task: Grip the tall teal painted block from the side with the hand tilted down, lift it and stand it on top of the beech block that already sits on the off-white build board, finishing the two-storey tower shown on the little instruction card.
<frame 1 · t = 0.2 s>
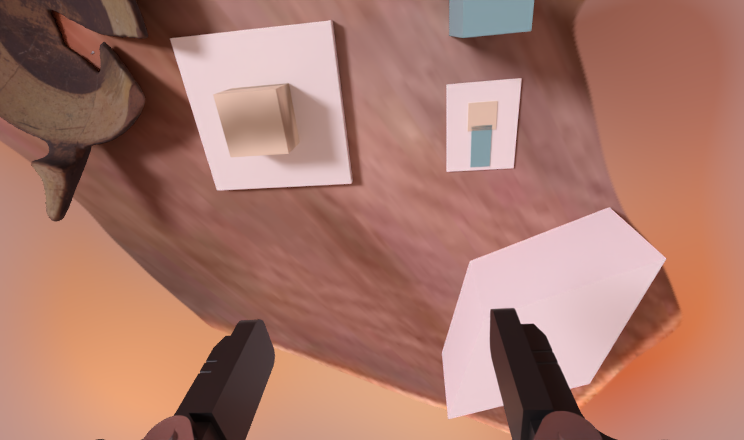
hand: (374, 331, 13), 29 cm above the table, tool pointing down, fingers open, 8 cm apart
lower block: (266, 116, 38), point 1 cm above the table, touching build board
oil lamp: (63, 50, 38), on the table
build board: (270, 114, 39), on the table
instruction card: (481, 127, 37), on the table
tall block: (475, 4, 32), on the table
wide white block: (513, 288, 46), on the table
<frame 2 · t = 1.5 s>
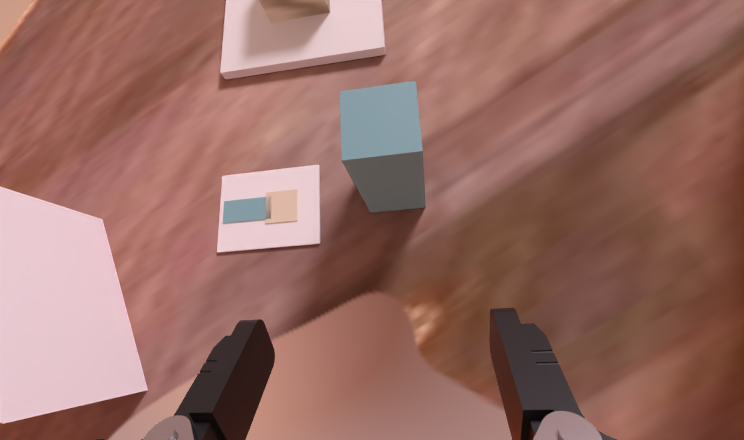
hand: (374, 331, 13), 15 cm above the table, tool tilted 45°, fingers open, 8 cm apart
build board: (303, 2, 37), on the table
instruction card: (269, 208, 31), on the table
tall block: (395, 184, 30), on the table
wide white block: (51, 284, 33), on the table
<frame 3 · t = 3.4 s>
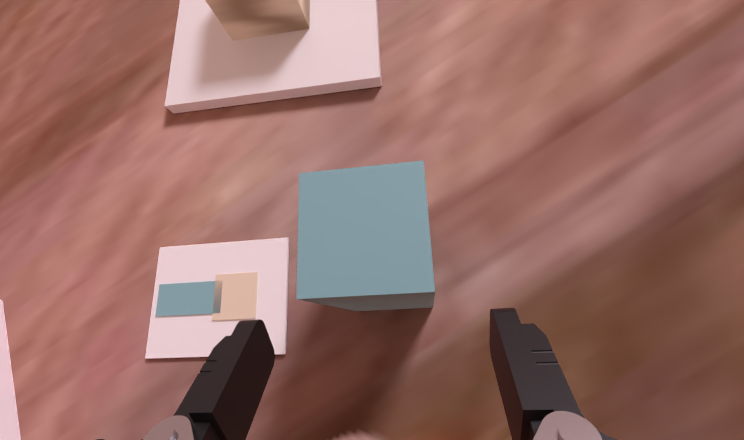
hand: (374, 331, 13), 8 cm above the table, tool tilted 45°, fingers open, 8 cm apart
lower block: (272, 3, 28), point 1 cm above the table, touching build board
build board: (277, 13, 29), on the table
instruction card: (219, 297, 23), on the table
tall block: (391, 270, 22), on the table
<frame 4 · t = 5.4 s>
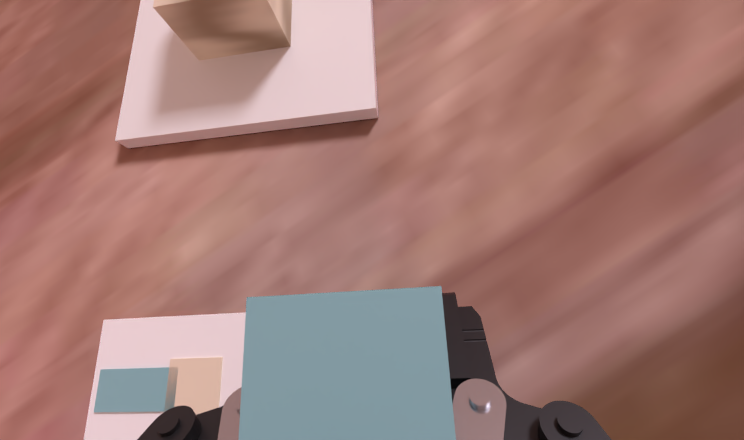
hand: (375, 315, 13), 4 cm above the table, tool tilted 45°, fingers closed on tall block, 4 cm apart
lower block: (246, 14, 23), point 1 cm above the table, touching build board
build board: (254, 27, 24), on the table
instruction card: (174, 388, 18), on the table
tall block: (391, 360, 17), on the table, touching gripper
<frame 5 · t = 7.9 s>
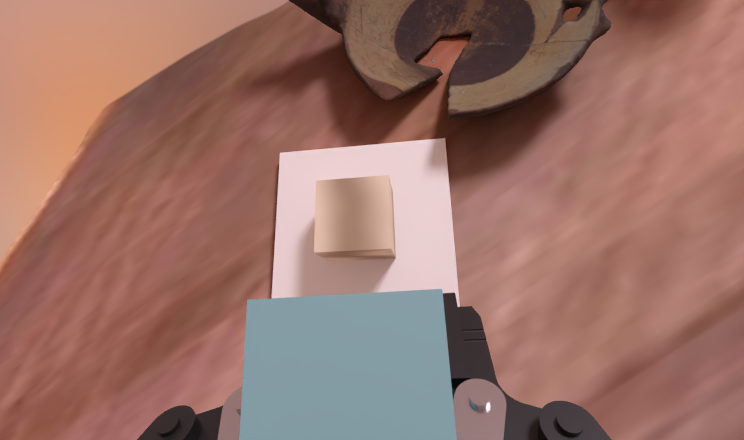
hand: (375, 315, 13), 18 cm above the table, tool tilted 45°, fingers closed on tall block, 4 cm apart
lower block: (360, 226, 32), point 1 cm above the table, touching build board
oil lamp: (435, 35, 38), on the table
build board: (362, 229, 33), on the table
tall block: (391, 361, 17), point 14 cm above the table, touching gripper
when the fingers open (11 cm above the table, at t = 10.8 s): tall block drops 1 cm, resting on lower block.
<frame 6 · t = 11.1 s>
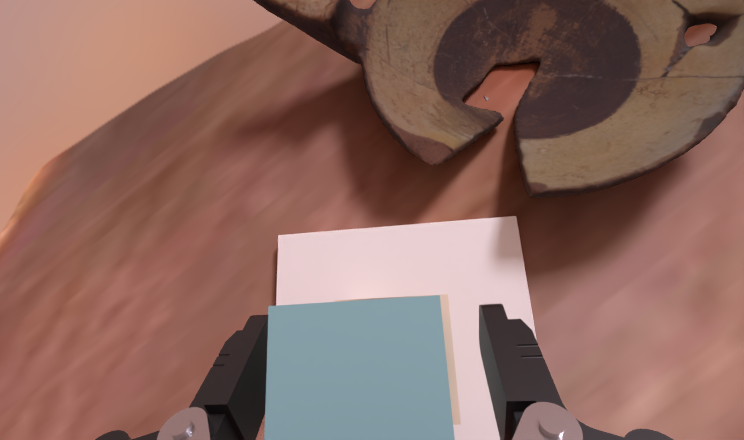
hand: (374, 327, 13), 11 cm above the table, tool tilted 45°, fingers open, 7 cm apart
lower block: (399, 352, 22), point 1 cm above the table, touching build board, tall block
oil lamp: (486, 61, 28), on the table
build board: (400, 351, 23), on the table
tall block: (394, 359, 18), point 5 cm above the table, touching lower block
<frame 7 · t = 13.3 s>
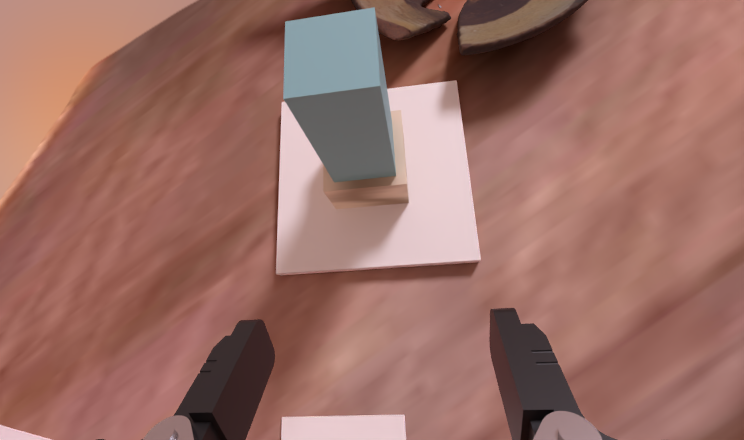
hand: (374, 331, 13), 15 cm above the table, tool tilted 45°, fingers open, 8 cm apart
lower block: (370, 172, 30), point 1 cm above the table, touching build board, tall block
build board: (372, 177, 31), on the table
tall block: (363, 151, 27), point 5 cm above the table, touching lower block
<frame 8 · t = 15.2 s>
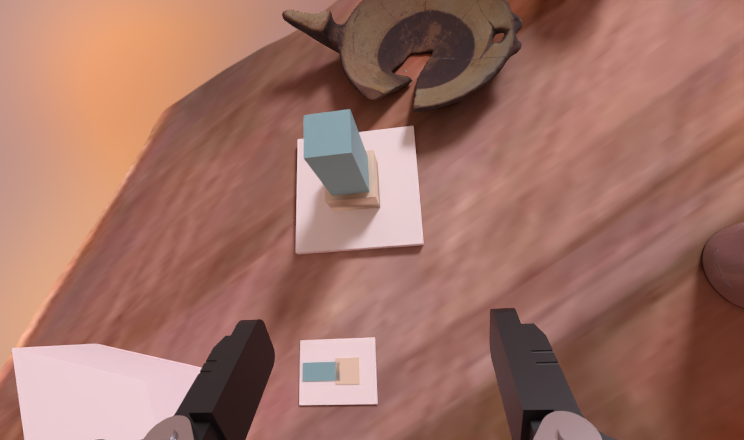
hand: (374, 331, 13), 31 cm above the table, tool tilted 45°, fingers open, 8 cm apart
lower block: (356, 187, 47), point 1 cm above the table, touching build board, tall block
oil lamp: (407, 52, 53), on the table
build board: (357, 190, 48), on the table
instruction card: (337, 370, 42), on the table
tall block: (349, 176, 43), point 5 cm above the table, touching lower block
wide white block: (168, 419, 44), on the table
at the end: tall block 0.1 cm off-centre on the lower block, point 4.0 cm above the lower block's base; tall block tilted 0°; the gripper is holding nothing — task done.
